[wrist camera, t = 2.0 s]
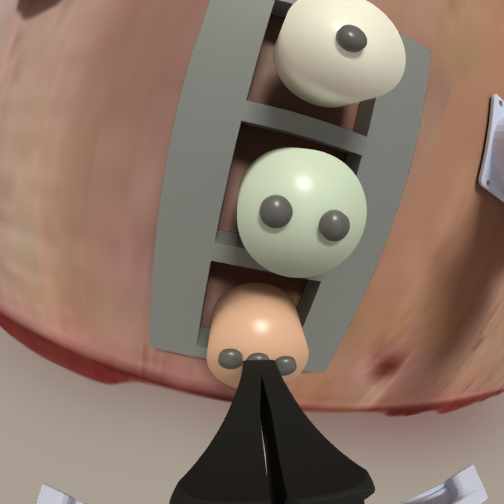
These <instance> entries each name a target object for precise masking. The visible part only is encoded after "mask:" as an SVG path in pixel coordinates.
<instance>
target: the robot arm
mask: <svg viewBox="0 0 504 504" xmlns="http://www.w3.org/2000/svg"><path fill="white" fill-rule="evenodd" d="M478 180H479V184H480V186H482V187H483V188H485V189H486V190H487V191H489V192H490V193H492V194H493V195H494V196H496V197H497V198H498V199H500V200H501V201H502V202H503V203H504V101H503V100H502V99H501V98H500V97H499V96H498V95H497V94H493V95H492V97H491V109H490V118H489V126H488V133H487V140H486V145H485V151H484V156H483V161H482V166H481V170H480V174H479V179H478ZM260 421H261V422H260ZM261 427H262V432H261ZM262 433H263V439H264V445H265V452H266V465H267V474H266V466H265V458H264V450H263V441H262ZM374 491H375V487H374V484H373V481H372V479H371V477H370V475H369V473H368V472H367V470H365V469H364V468H362V467H361V466H359V465H357V464H356V463H355V462H353V461H352V460H350V459H349V458H348V457H347V456H345V455H344V454H343V453H342V452H340V451H339V450H338V449H337V448H336V447H335V446H333V444H331V443H330V442H329V441H328V440H327V439H326V438H325V437H324V436H323V435H322V434H321V433H320V432H319V431H318V429H317V428H316V427H315V426H314V425H313V424H312V422H311V421H310V420H309V419H308V418H307V416H306V415H305V414H304V412H303V411H302V409H301V408H300V407H299V405H298V404H297V402H296V401H295V399H294V397H293V396H292V394H291V392H290V391H289V389H288V387H287V385H286V384H285V382H284V380H283V378H282V376H281V374H280V371H279V369H278V366H277V364H276V361H274V360H245V361H243V367H242V373H241V378H240V382H239V385H238V388H237V391H236V394H235V397H234V399H233V402H232V404H231V406H230V409H229V411H228V413H227V415H226V417H225V420H224V421H223V423H222V425H221V427H220V429H219V430H218V432H217V434H216V435H215V437H214V438H213V440H212V442H211V443H210V445H209V446H208V448H207V449H206V451H205V452H204V453H203V454H202V456H201V457H200V458H199V459H198V461H197V462H196V463H195V465H194V466H193V467H192V468H191V469H190V470H189V471H188V472H187V474H185V476H184V477H183V478H182V479H181V480H180V481H179V482H178V484H177V486H176V488H175V489H174V491H173V494H172V496H171V499H170V503H169V504H364V499H366V498H368V497H369V496H370V495H372V494H373V493H374ZM486 499H487V495H486V492H485V490H484V487H483V485H482V483H481V480H480V478H479V476H478V474H477V472H476V469H475V467H474V465H473V464H471V465H470V466H468V467H466V468H465V469H463V470H461V471H460V472H458V473H456V474H455V475H453V476H452V477H451V478H449V479H448V480H446V482H444V483H442V484H440V485H438V486H436V487H434V488H432V489H430V490H428V491H426V492H424V493H422V494H419V495H417V496H415V497H413V498H410V499H408V500H405V501H403V502H400V503H398V504H481V503H482V502H483V501H485V500H486ZM37 504H85V503H82V502H80V501H77V500H75V499H74V498H73V497H71V496H69V495H68V494H66V493H63V492H62V491H59V490H57V489H55V488H53V487H51V486H49V485H47V484H45V483H43V484H42V487H41V491H40V494H39V497H38V501H37Z"/></svg>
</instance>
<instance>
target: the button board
mask: <svg viewBox="0 0 504 504" xmlns="http://www.w3.org/2000/svg"><path fill="white" fill-rule="evenodd" d="M296 1H297V0H211V1H210V4H209V6H208V9H207V12H206V14H205V17H204V20H203V23H202V26H201V28H200V31H199V34H198V37H197V40H196V43H195V47H194V50H193V53H192V56H191V60H190V63H189V66H188V70H187V73H186V77H185V81H184V84H183V88H182V92H181V96H180V100H179V104H178V108H177V113H176V117H175V121H174V126H173V131H172V135H171V140H170V145H169V151H168V156H167V161H166V167H165V173H164V179H163V185H162V192H161V199H160V206H159V214H158V222H157V230H156V240H155V250H154V262H153V275H152V291H151V315H150V347H153V348H157V349H161V350H165V351H170V352H174V353H179V354H184V355H189V356H194V357H199V358H204V359H207V349H208V342H209V334H210V328H205V327H200V324H201V318H202V312H203V306H204V300H205V294H206V289H207V283H208V278H209V272H210V267H211V261H216V262H221V263H226V264H231V265H236V266H241V267H246V268H252V269H257V270H262V271H267V272H271V271H269V270H267V269H266V268H264V267H263V266H261V265H260V264H259V263H257V262H256V261H255V260H254V259H253V258H252V256H251V255H250V254H249V253H248V251H247V250H246V248H245V246H244V245H243V242H242V240H241V238H240V234H236V233H232V232H227V231H222V230H218V226H219V221H220V216H221V211H222V206H223V201H224V197H225V192H226V188H227V183H228V178H229V174H230V169H231V165H232V161H233V156H234V152H235V148H236V143H237V139H238V135H239V131H240V127H241V124H246V125H250V126H255V127H259V128H263V129H267V130H272V131H276V132H279V133H283V134H287V135H291V136H294V137H298V138H301V139H305V140H308V141H312V142H315V143H318V144H321V145H325V146H328V147H331V148H334V149H337V150H340V151H343V152H346V153H347V157H346V161H345V164H346V165H347V166H348V167H349V168H350V169H351V170H352V171H353V173H354V174H355V175H356V177H357V178H358V180H359V182H360V184H361V186H362V188H363V191H364V194H365V199H366V206H367V217H366V223H365V227H364V231H363V234H362V236H361V238H360V241H359V242H358V244H357V246H356V247H355V249H354V250H353V251H352V253H351V254H350V255H349V256H348V257H347V258H346V259H345V260H344V261H343V262H342V263H340V264H339V265H338V266H336V267H335V268H333V269H331V270H329V271H327V272H325V273H322V274H320V275H316V276H312V277H305V278H304V279H308V281H307V283H306V286H305V289H304V292H303V294H302V297H301V300H300V302H299V305H298V308H297V312H298V316H299V319H300V322H301V326H302V329H303V333H304V336H305V339H306V343H307V346H308V351H309V355H308V361H307V363H306V366H305V367H304V369H303V371H310V372H324V371H325V370H326V368H327V366H328V364H329V363H330V361H331V359H332V357H333V356H334V354H335V352H336V350H337V348H338V346H339V344H340V343H341V341H342V339H343V337H344V335H345V333H346V331H347V329H348V327H349V325H350V323H351V321H352V319H353V317H354V315H355V313H356V311H357V309H358V307H359V305H360V302H361V300H362V298H363V296H364V294H365V292H366V289H367V287H368V285H369V283H370V280H371V278H372V276H373V273H374V271H375V268H376V266H377V264H378V261H379V259H380V256H381V254H382V251H383V249H384V246H385V243H386V241H387V238H388V235H389V233H390V230H391V227H392V224H393V221H394V218H395V215H396V213H397V210H398V206H399V203H400V200H401V197H402V194H403V191H404V187H405V184H406V181H407V177H408V173H409V170H410V166H411V162H412V159H413V155H414V151H415V147H416V142H417V138H418V134H419V129H420V124H421V119H422V114H423V109H424V103H425V97H426V91H427V84H428V77H429V68H430V59H431V51H430V50H428V49H427V48H425V47H423V46H422V45H420V44H419V43H417V42H415V41H414V40H412V39H410V38H409V37H407V36H405V35H403V34H402V33H400V32H398V33H399V35H400V37H401V39H402V42H403V45H404V49H405V55H406V64H405V70H404V73H403V76H402V78H401V80H400V81H399V83H398V84H397V85H396V86H395V88H393V89H392V90H391V91H390V92H388V93H386V94H384V95H382V96H379V97H376V98H372V99H368V100H364V101H360V105H359V109H358V113H357V118H356V122H355V126H354V130H353V131H350V130H347V129H345V128H342V127H339V126H336V125H333V124H330V123H327V122H324V121H321V120H318V119H315V118H312V117H309V116H305V115H302V114H299V113H295V112H292V111H288V110H284V109H281V108H277V107H273V106H269V105H265V104H260V103H256V102H252V101H247V99H248V95H249V91H250V87H251V84H252V80H253V76H254V72H255V69H256V65H257V61H258V58H259V54H260V51H261V47H262V44H263V40H264V37H265V33H266V30H267V27H268V23H269V20H270V17H271V15H274V16H279V17H283V18H286V15H287V13H288V11H289V9H290V8H291V6H292V5H293V4H294V3H295V2H296ZM272 273H273V272H272Z"/></svg>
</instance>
